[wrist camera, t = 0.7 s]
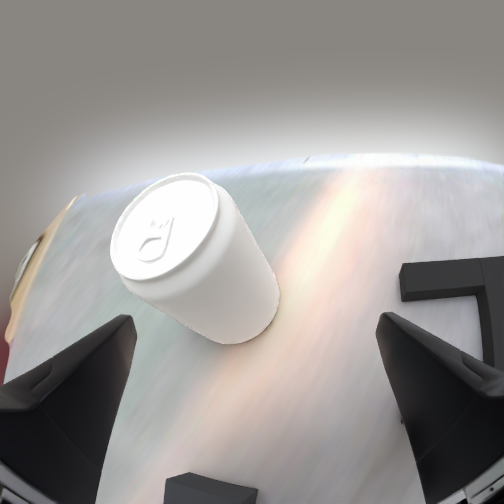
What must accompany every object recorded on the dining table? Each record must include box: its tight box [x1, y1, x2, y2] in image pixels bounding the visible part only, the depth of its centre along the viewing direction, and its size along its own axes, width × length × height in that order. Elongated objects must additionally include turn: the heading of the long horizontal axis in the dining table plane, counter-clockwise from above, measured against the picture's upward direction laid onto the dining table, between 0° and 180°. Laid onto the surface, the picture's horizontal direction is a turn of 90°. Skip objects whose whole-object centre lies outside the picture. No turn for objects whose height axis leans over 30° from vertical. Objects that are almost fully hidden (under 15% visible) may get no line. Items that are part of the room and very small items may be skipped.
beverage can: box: [110, 173, 280, 344], centre depth 19 cm, size 8×8×12 cm
